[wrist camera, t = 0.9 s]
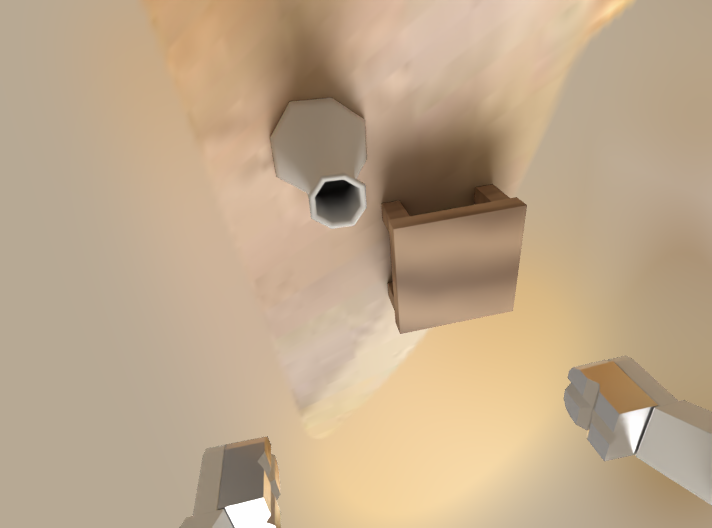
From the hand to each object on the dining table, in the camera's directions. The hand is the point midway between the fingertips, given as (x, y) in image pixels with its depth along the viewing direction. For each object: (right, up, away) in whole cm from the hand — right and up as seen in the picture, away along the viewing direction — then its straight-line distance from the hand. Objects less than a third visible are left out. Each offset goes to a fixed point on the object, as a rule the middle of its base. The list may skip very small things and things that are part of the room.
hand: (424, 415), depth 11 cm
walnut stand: (+5, +6, +26) cm, 27 cm away
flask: (-4, +13, +20) cm, 24 cm away
